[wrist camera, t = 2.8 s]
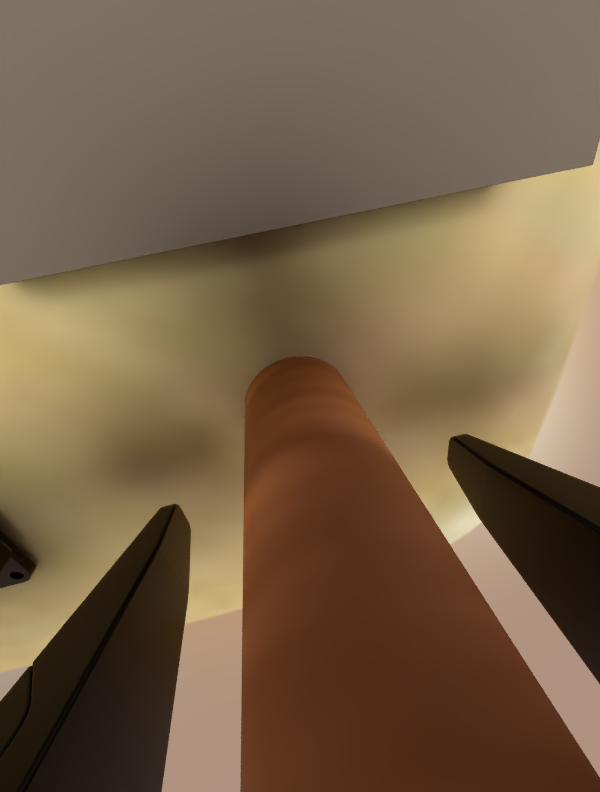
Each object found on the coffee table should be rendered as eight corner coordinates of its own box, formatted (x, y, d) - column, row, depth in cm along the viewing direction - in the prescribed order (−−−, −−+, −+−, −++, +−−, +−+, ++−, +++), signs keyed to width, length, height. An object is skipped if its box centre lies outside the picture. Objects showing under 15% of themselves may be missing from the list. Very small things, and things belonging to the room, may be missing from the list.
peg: (259, 456, 13) (286, 963, 4) (231, 370, 10) (161, 1027, 2) (352, 434, 13) (576, 871, 4) (342, 345, 11) (745, 835, 2)
